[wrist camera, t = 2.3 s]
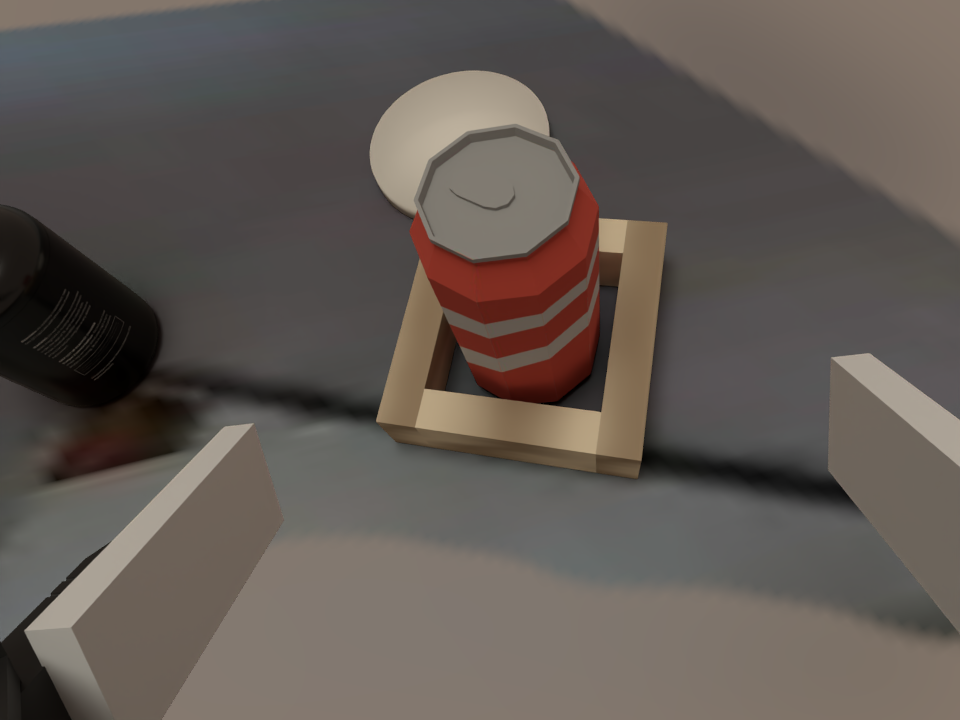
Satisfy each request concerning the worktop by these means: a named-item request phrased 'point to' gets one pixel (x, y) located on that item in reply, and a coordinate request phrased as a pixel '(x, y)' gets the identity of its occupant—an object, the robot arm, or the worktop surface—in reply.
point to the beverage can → (513, 259)
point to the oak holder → (529, 426)
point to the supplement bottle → (66, 318)
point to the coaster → (444, 125)
